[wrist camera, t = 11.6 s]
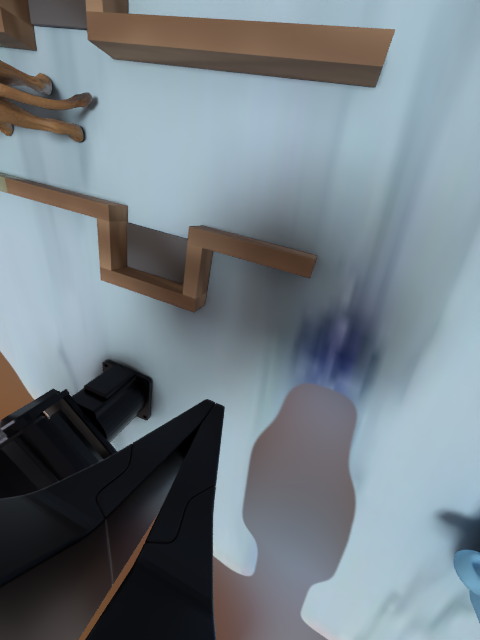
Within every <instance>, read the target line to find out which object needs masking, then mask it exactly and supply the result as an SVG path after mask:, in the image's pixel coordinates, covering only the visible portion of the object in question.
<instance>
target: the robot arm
mask: <svg viewBox="0 0 480 640" xmlns="http://www.w3.org/2000/svg"><path fill="white" fill-rule="evenodd" d="M151 391H152V381H151V379H150V378H148V377H146V376H144V375H141V374H139V373H137V372H134V371H132V370H130V369H127V368H125V367H123V366H120V365H118V364H116V363H114V362H111V361H109V360H106V361H104V362H103V373H102V374H101V375H99V376H98V377H96V378H95V379H93V380H92V381H90V382H89V383H88V384H86V385H85V386H84V388H83V389H82V390H80V391H79V392H78V393H76V394H75V395H73V396H72V397H71V396H70V395H69V392H68V390H67V389H65V390H64V391H62V392H60V391H57V390H55V389H52V390H50V391H49V392H47V393H45V394H44V395H42V396H41V397H39V398H37V399H36V400H34V401H32V402H31V403H29V404H27V405H25V406H24V407H22V408H20V409H19V410H17V411H15V412H14V413H12V414H10V415H8V416H7V417H5V418H4V419H2V420H1V421H0V640H78V639H79V638H80V636H81V634H82V633H83V631H84V630H85V628H86V627H87V625H88V623H89V622H90V620H91V618H92V617H93V616H94V614H95V612H96V611H97V609H98V608H99V606H100V604H101V603H102V601H103V600H104V598H105V597H106V595H107V593H108V592H109V590H110V589H111V587H112V584H114V582H115V581H116V579H117V577H118V576H119V574H120V573H121V571H122V570H123V568H124V566H125V565H126V563H127V562H128V560H129V558H130V557H131V555H132V554H133V552H134V551H135V549H136V547H137V545H138V544H139V543H140V541H141V539H142V538H143V536H144V535H145V533H146V531H147V530H148V528H149V527H150V525H151V524H152V522H153V520H154V519H155V517H156V516H157V514H158V516H157V518H156V520H155V522H154V524H153V526H152V529H151V530H150V533H149V535H148V537H147V539H146V541H145V544H144V545H143V547H142V550H141V552H140V554H139V556H138V557H137V559H136V561H135V563H134V565H133V567H132V568H131V570H130V572H129V573H128V575H127V576H126V578H125V579H124V581H123V582H122V584H121V585H120V587H119V589H118V590H117V592H116V593H115V595H114V596H113V598H112V599H111V601H110V602H109V604H108V605H107V607H106V609H105V610H104V612H103V613H102V615H101V616H100V618H99V619H98V621H97V623H96V624H95V626H94V627H93V629H92V630H91V632H90V633H89V635H88V637H87V638H86V639H85V640H216V632H215V621H214V606H213V605H214V604H213V511H214V499H215V490H216V487H215V486H216V480H217V471H218V462H219V454H220V445H221V436H222V427H223V418H224V409H225V407H224V406H223V405H220V404H218V403H216V404H215V402H213V401H211V400H209V399H206V400H204V401H202V402H201V403H199V404H197V405H196V406H194V407H192V408H190V409H189V410H187V411H185V412H184V413H182V414H180V415H179V416H177V417H175V418H174V419H172V420H170V421H169V422H167V423H165V424H164V425H162V426H160V427H159V428H157V429H155V430H154V431H152V432H150V433H149V434H147V435H145V436H144V437H142V438H140V439H139V440H137V441H135V442H134V443H133V444H130V445H129V446H127V447H125V448H124V449H122V450H120V451H118V452H117V451H116V450H115V448H114V447H113V446H112V445H111V444H110V442H111V441H112V440H113V439H114V438H115V437H116V436H117V435H118V434H119V433H120V432H121V431H122V430H123V429H124V428H125V427H126V426H127V425H128V424H129V423H130V422H131V421H132V420H133V419H134V418H135V417H136V416H138V417H140V418H142V419H144V420H148V419H149V418H150V413H151ZM43 411H45V412H46V413H47V414H48V415H49V417H46V415H45V414H44V413H43Z"/></svg>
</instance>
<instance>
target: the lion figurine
mask: <svg viewBox="0 0 480 640" xmlns="http://www.w3.org/2000/svg"><path fill="white" fill-rule="evenodd" d="M9 86H27V87H30V88H32V89H34V90H35V91H37V92H42V93H44V94H47V95H50V94H51V91H52V83H51V81H50V79H49V78H48V77H47V76H46V75H44V74H42V73H39V74H38V75H37V76H36V77H34V76H29V75H27V74H25V73H23V72H21V71H19V70H17V69H15V68H14V67H12V66H10V65H8V64H6V63H4V62H2V61H1V60H0V130H1V132H3V133H4V134H5V135H7V136H11V134H12V132H13V127H12V125H15V126H20V127H24V128H29V129H35V130H45V131H51V132H55V133H58V134H67V135H69V136H70V137H71V138H72V139H73V140H74V141H76V142H81V141H83V131H82V129H81V127H80V126H79V125H77V124H73V123H72V124H71V123H66V122H63V121H60V120H57V119H46V118H41V117H38V116H35V115H33V114H31V113H29V112H27V111H25V110H23V109H22V108H20V107H19V106H17V105H15V104H14V103H12V102H11V101H9V100H8V99H7V98H9V99H12V100H15V101H18V102H22V103H26V104H30V105H34V106H38V107H42V108H47V109H52V110H67V109H72V108H76V107H88V105H89V104H90V103H91V102H92V96H91V94H90V93H82V94H78V95H74V96H73V97H71V98H69V99H66V100H51V99H46V98H42V97H38V96H34V95H31V94H28V93H25V92H22V91H20V90H17V89H15V88H12V87H9ZM5 97H6V98H5Z"/></svg>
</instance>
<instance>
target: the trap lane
mask: <svg viewBox="0 0 480 640" xmlns="http://www.w3.org/2000/svg"><path fill="white" fill-rule="evenodd" d="M33 25H34V26H45V27H57V28H70V29H83V30H87V33H88V40H89V41H90V42H92V43H93V44H94V45H96V46H97V47H98V48H100V49H101V50H102V51H104V52H105V53H106V54H108V55H109V56H110V57H112V58H113V59H119V60H128V61H137V62H147V63H156V64H165V65H174V66H183V67H193V68H202V69H211V70H220V71H230V72H239V73H248V74H257V75H266V76H276V77H285V78H294V79H303V80H313V81H322V82H331V83H340V84H349V85H359V86H368V87H375V86H376V83H377V81H378V78H379V75H380V72H381V70H382V67H383V64H384V61H385V58H386V55H387V52H388V49H389V46H390V43H391V41H392V38H393V35H394V32H395V30H394V29H377V28H360V27H344V26H327V25H310V24H293V23H277V22H260V21H243V20H226V19H209V18H193V17H176V16H159V15H142V14H128V0H0V47H8V48H18V49H27V50H36V44H35V36H34V29H33ZM0 191H3V192H6V193H10V194H13V195H17V196H20V197H24V198H28V199H31V200H35V201H38V202H42V203H45V204H49V205H52V206H56V207H59V208H63V209H67V210H70V211H74V212H77V213H81V214H84V215H88V216H91V217H95V218H97V228H98V243H99V259H100V274H101V280H103V281H105V282H108V283H111V284H114V285H117V286H120V287H123V288H126V289H128V290H131V291H134V292H137V293H140V294H143V295H146V296H149V297H151V298H154V299H157V300H160V301H163V302H166V303H169V304H172V305H174V306H177V307H180V308H183V309H186V310H189V311H192V312H195V311H197V310H198V309H200V308H201V307H202V306H204V305H205V302H206V295H207V289H208V282H209V275H210V268H211V261H212V255H213V251H215V252H219V253H222V254H226V255H229V256H233V257H236V258H240V259H244V260H247V261H251V262H254V263H258V264H261V265H265V266H268V267H272V268H275V269H279V270H282V271H286V272H290V273H293V274H297V275H300V276H304V277H307V278H310V276H311V273H312V270H313V267H314V265H315V262H316V259H317V255H313V254H309V253H305V252H302V251H298V250H294V249H290V248H286V247H282V246H279V245H275V244H271V243H267V242H263V241H259V240H256V239H252V238H248V237H244V236H240V235H236V234H233V233H229V232H225V231H221V230H217V229H213V228H210V227H206V226H189V233H188V239H185V238H182V237H178V236H175V235H171V234H167V233H164V232H160V231H157V230H153V229H149V228H146V227H142V226H139V225H135V224H131V223H128V206H125V205H121V204H118V203H114V202H110V201H106V200H102V199H98V198H95V197H91V196H87V195H83V194H79V193H75V192H72V191H68V190H64V189H60V188H56V187H52V186H49V185H45V184H41V183H37V182H33V181H29V180H26V179H22V178H18V177H14V176H10V175H6V174H3V173H0ZM128 266H129V267H128ZM131 267H132V268H131ZM134 268H135V269H134ZM137 269H138V270H137ZM140 270H141V271H140ZM162 277H163V278H162ZM165 278H166V279H165ZM168 279H169V280H168ZM171 280H172V281H171ZM174 281H175V282H174Z"/></svg>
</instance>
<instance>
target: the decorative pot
mask: <svg viewBox="0 0 480 640" xmlns="http://www.w3.org/2000/svg"><path fill="white" fill-rule="evenodd" d="M454 568H455V570H456V573H457V575H458V576H459V578H460V580H461V581H462V582H463V583H464V585H465V586H466V587H467V588H468V589H469V592H470V600H471V603H472V605H473V608H474V610H475V613H476V615H477V618H478V620H479V623H480V552H477V551H474V550H461V551H458V552H456V554H455V556H454Z"/></svg>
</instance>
